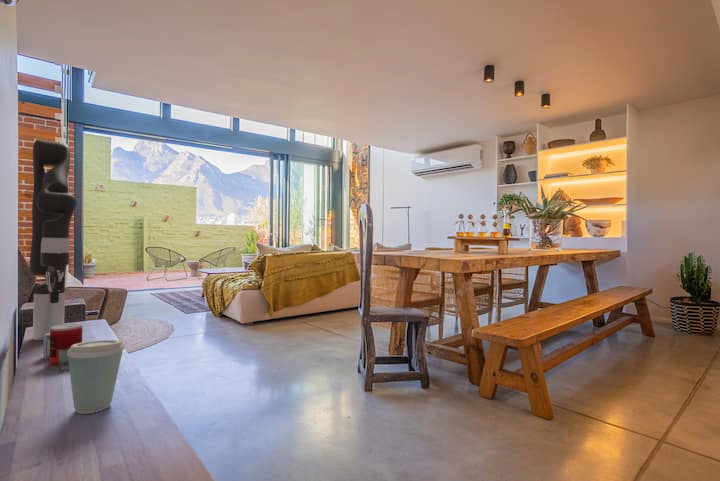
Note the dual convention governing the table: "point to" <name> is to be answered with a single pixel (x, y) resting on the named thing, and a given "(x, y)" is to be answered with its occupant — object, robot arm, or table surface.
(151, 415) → the table surface
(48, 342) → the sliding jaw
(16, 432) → the table surface
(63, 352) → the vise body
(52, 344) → the canned food
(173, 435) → the table surface
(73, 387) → the disposable coffee cup
